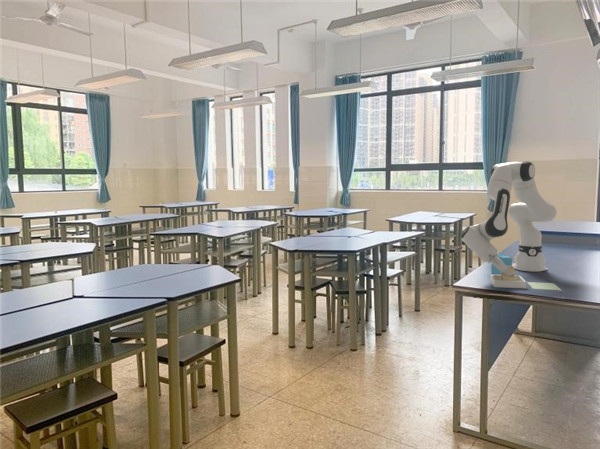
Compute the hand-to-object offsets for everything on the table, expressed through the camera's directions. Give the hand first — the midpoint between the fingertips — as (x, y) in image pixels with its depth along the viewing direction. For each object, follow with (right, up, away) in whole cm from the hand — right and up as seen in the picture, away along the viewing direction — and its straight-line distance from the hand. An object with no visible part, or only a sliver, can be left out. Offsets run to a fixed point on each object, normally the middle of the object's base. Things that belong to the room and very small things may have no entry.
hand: (509, 273), depth 214 cm
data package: (+5, -4, +19) cm, 20 cm away
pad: (+15, -6, -4) cm, 17 cm away
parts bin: (-1, -6, +1) cm, 6 cm away
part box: (-1, -5, +1) cm, 5 cm away
